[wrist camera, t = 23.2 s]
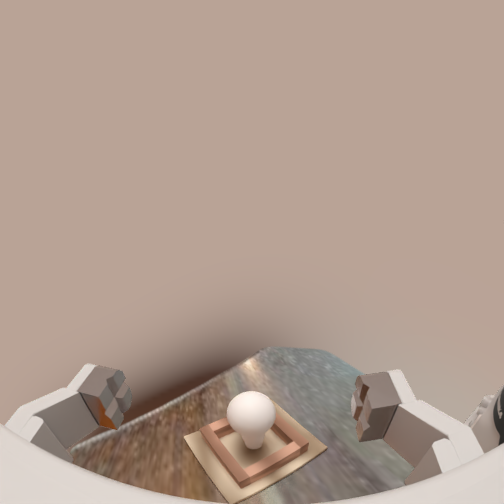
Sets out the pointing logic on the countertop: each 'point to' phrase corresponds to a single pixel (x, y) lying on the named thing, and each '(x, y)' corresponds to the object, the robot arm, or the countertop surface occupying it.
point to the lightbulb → (251, 417)
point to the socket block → (252, 455)
